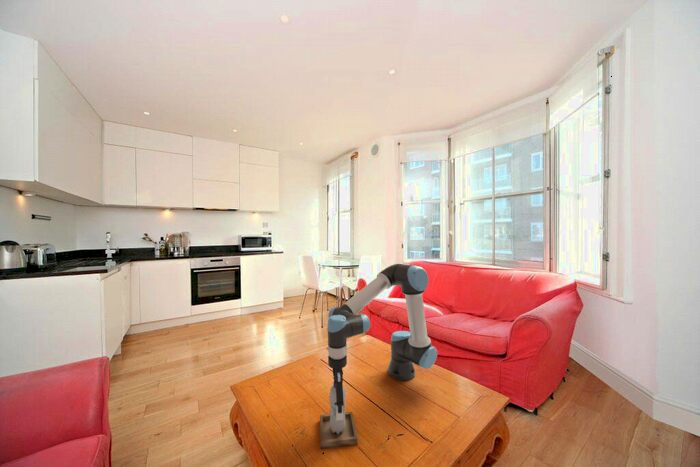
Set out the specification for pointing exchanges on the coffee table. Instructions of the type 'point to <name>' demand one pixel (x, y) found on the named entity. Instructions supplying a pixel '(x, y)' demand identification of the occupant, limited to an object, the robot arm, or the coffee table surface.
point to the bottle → (339, 424)
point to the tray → (334, 439)
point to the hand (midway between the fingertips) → (338, 406)
